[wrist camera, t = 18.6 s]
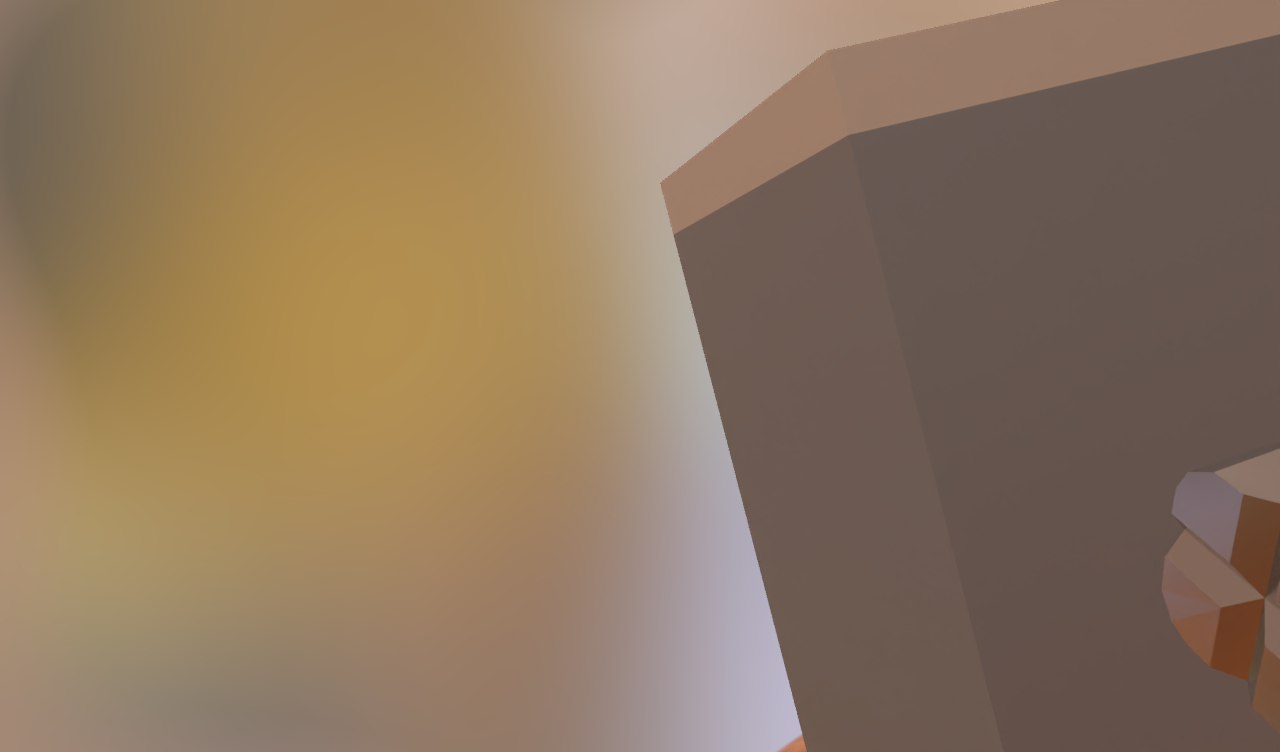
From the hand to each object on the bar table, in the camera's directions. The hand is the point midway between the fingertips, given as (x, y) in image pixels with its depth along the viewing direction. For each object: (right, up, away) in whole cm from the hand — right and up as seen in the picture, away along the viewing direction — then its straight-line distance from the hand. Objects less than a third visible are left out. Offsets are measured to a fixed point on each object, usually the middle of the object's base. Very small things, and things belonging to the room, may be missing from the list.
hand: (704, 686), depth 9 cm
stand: (+13, -16, +20) cm, 29 cm away
